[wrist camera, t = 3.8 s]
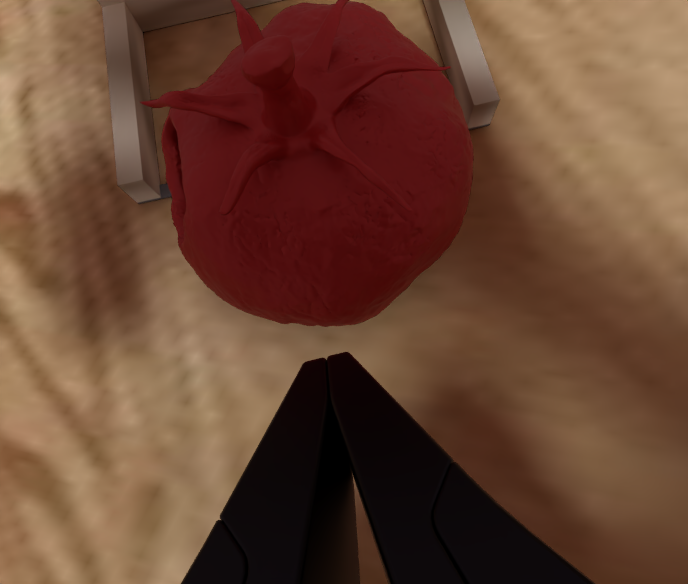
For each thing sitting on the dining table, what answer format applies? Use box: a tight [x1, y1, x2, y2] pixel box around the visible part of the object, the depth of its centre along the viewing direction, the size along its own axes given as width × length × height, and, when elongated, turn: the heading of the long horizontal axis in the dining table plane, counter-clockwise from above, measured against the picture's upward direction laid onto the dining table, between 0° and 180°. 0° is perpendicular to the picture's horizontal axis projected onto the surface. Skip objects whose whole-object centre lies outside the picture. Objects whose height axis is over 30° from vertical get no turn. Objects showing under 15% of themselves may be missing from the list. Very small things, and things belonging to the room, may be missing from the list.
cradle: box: [97, 0, 500, 204], centre depth 18 cm, size 10×15×4 cm, turn 102°
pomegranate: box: [140, 0, 474, 327], centre depth 13 cm, size 10×10×9 cm
